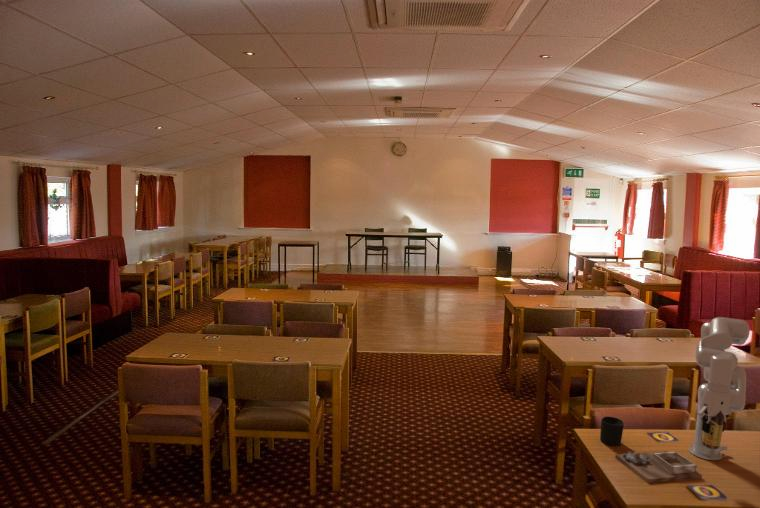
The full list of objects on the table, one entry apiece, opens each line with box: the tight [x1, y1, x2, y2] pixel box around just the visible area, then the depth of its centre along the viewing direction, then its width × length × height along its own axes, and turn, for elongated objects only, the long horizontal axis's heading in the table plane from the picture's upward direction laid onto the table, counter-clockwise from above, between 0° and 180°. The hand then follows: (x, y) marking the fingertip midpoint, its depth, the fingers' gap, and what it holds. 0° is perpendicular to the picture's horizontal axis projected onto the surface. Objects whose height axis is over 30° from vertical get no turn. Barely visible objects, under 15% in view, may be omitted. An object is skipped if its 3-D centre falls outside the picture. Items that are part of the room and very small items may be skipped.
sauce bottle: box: [702, 401, 724, 449], centre depth 217 cm, size 6×6×20 cm
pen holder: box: [599, 416, 625, 447], centre depth 251 cm, size 9×9×10 cm
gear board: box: [614, 450, 703, 484], centre depth 229 cm, size 25×20×5 cm
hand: (712, 430), depth 218 cm, fingers closed on sauce bottle, 6 cm apart
